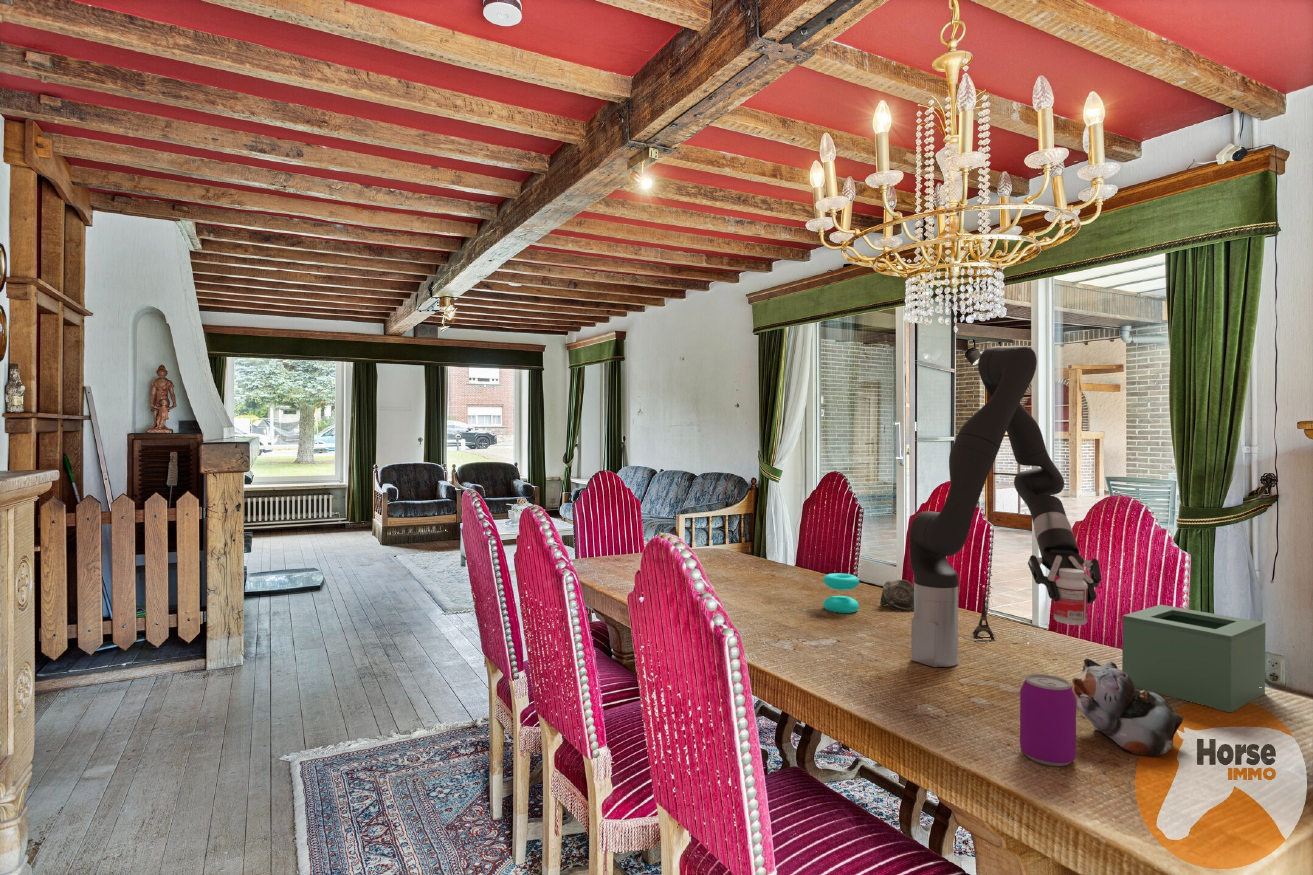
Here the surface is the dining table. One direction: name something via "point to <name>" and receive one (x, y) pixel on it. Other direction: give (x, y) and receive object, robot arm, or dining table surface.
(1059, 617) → the pill bottle
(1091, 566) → the robot arm
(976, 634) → the eiffel tower figurine
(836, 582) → the donuts
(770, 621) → the dining table surface
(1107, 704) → the lucky cat figurine
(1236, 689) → the box
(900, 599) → the fossil
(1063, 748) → the beverage can
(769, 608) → the dining table surface
